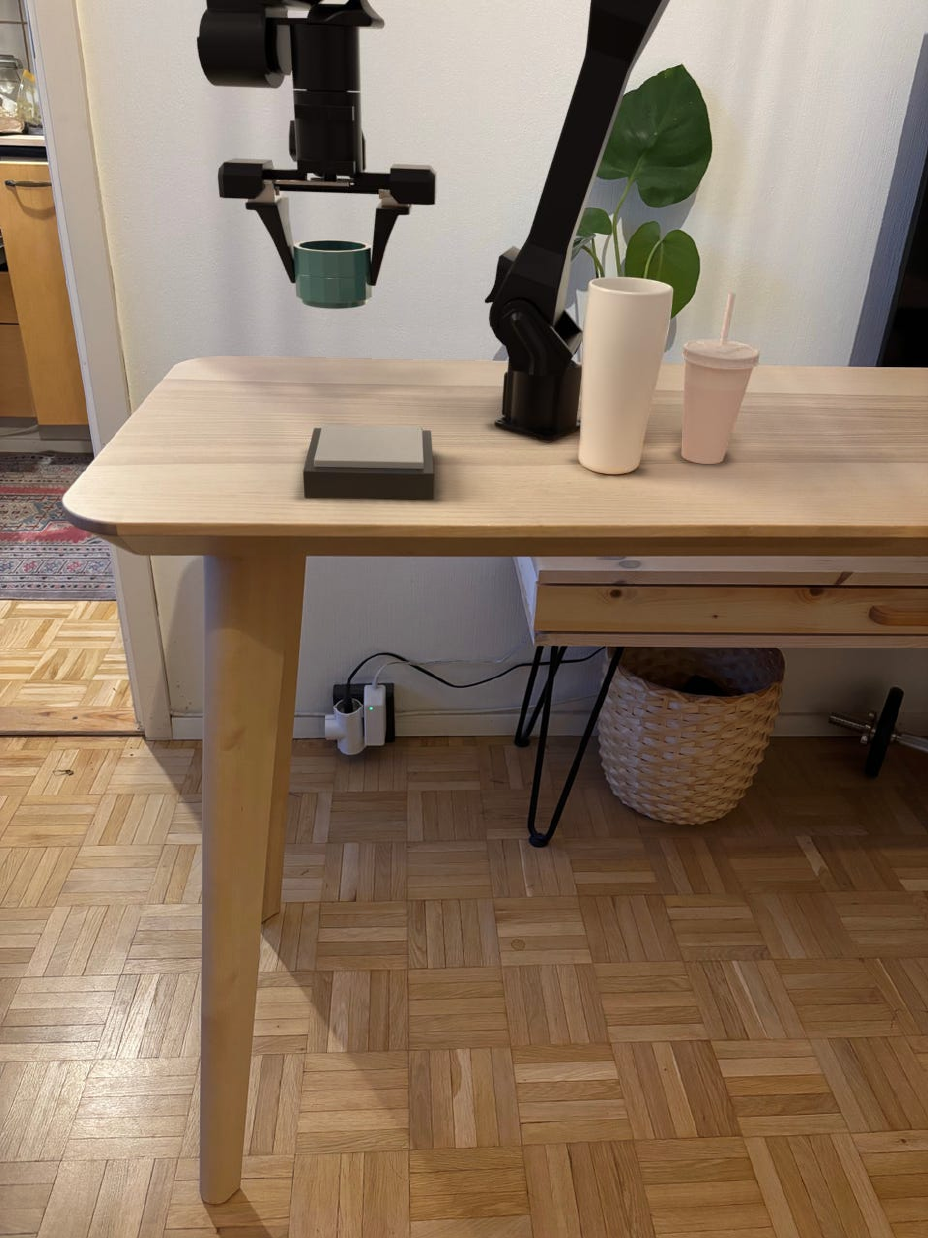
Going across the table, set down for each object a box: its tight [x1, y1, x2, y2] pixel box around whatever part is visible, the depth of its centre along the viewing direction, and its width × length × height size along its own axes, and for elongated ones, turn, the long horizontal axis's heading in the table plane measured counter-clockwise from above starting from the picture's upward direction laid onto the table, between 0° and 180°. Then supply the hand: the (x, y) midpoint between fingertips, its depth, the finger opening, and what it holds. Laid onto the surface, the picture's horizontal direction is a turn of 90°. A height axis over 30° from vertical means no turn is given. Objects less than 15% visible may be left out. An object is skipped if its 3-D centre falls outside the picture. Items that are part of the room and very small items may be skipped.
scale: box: [302, 423, 435, 500], centre depth 75 cm, size 10×10×3 cm
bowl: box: [293, 239, 373, 310], centre depth 86 cm, size 7×7×5 cm
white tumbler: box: [577, 276, 674, 475], centre depth 76 cm, size 7×7×15 cm
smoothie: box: [680, 292, 761, 465], centre depth 79 cm, size 6×6×14 cm
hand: (334, 283), depth 86 cm, fingers closed on bowl, 7 cm apart
